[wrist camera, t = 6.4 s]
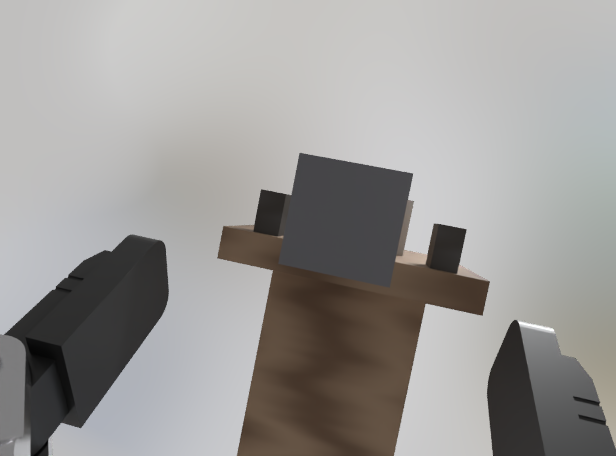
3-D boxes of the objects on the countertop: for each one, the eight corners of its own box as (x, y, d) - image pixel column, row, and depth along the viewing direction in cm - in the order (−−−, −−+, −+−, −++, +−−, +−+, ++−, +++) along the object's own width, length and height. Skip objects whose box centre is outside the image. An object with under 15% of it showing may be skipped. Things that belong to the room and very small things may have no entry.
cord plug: (323, 234, 33) (333, 187, 33) (398, 249, 32) (407, 201, 32) (242, 256, 13) (264, 138, 13) (428, 296, 13) (454, 173, 13)
